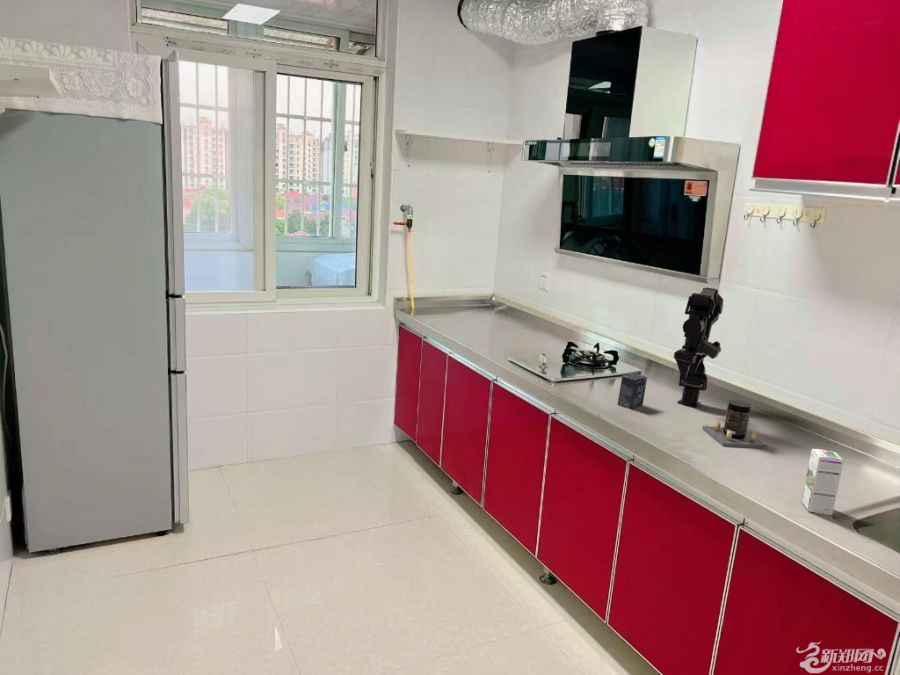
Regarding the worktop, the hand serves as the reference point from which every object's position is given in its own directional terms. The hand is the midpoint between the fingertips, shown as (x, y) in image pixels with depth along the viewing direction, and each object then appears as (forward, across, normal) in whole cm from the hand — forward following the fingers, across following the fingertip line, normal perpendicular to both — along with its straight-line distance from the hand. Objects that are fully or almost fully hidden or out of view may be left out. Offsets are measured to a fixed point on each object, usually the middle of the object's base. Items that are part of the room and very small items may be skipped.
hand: (688, 377), depth 232 cm
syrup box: (+13, -47, -49) cm, 69 cm away
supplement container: (+12, -11, -20) cm, 26 cm away
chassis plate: (+13, -11, -20) cm, 26 cm away
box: (+13, -6, +16) cm, 22 cm away
